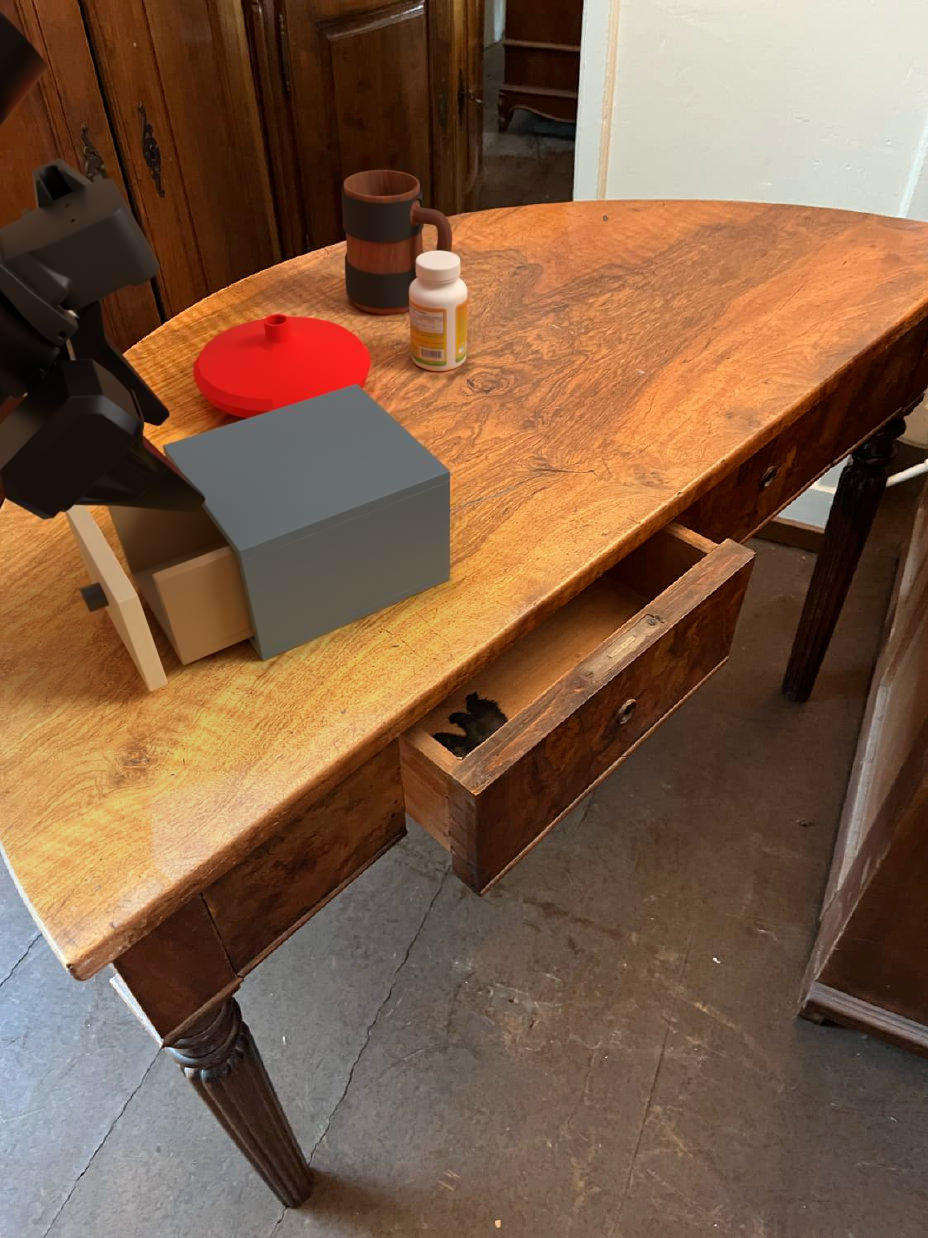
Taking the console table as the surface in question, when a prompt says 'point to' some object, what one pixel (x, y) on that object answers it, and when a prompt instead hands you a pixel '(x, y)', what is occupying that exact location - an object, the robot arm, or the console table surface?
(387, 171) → the mug
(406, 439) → the cabinet
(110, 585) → the drawer
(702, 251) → the console table surface
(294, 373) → the red squat vase
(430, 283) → the supplement bottle
